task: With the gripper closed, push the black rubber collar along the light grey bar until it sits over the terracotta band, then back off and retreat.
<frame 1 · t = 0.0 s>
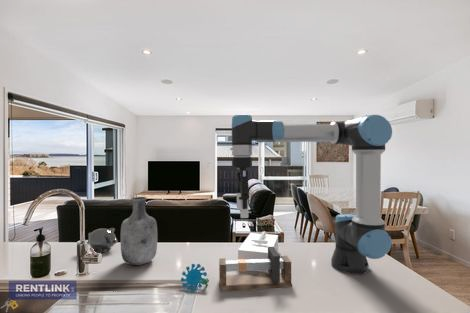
hand: (242, 213, 100), 28 cm above the counter, fingers open, 13 cm apart
wooden stand: (254, 282, 104), on the counter
gear: (195, 287, 101), on the counter
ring: (273, 263, 105), point 7 cm above the counter, slide at -7.5 cm
vase: (139, 263, 124), on the counter
light grey bar: (254, 264, 104), point 7 cm above the counter
piggy bank: (102, 251, 138), on the counter
white pegged block: (259, 260, 126), on the counter
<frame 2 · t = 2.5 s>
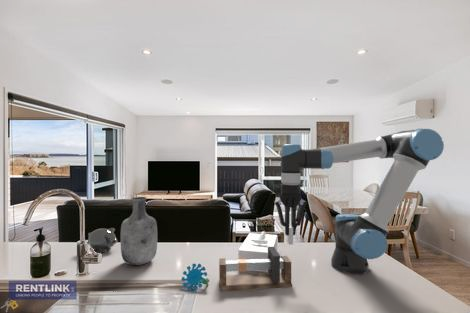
hand: (290, 243, 105), 15 cm above the counter, fingers closed
nothing on the counter moved.
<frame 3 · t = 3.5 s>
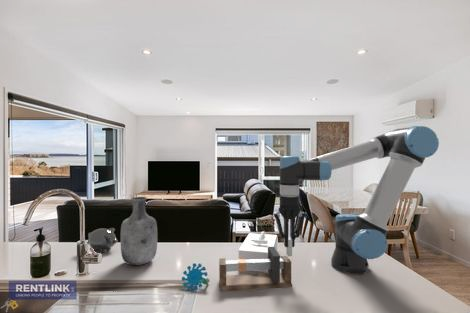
hand: (289, 254, 105), 10 cm above the counter, fingers closed
nothing on the counter moved.
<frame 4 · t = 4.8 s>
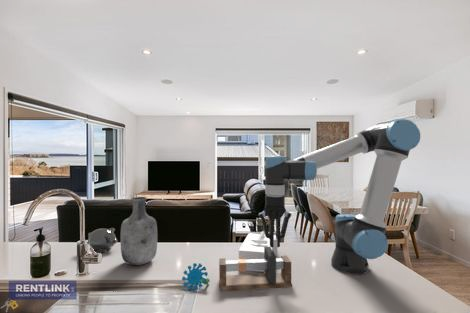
hand: (274, 255, 105), 10 cm above the counter, fingers closed
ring: (269, 264, 104), point 7 cm above the counter, slide at -6.0 cm, touching gripper
everything else where it was.
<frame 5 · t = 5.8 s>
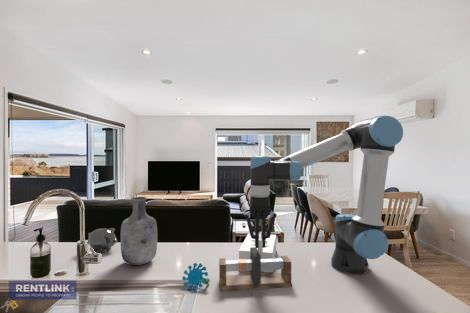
hand: (260, 255, 104), 10 cm above the counter, fingers closed
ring: (255, 264, 104), point 7 cm above the counter, slide at -0.2 cm, touching gripper
everything else where it was.
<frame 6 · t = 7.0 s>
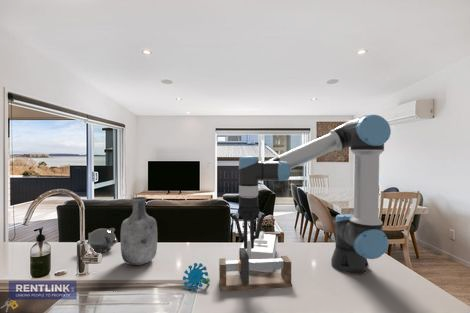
hand: (248, 256, 104), 10 cm above the counter, fingers closed
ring: (243, 265, 104), point 7 cm above the counter, slide at 4.2 cm, touching gripper
everything else where it was.
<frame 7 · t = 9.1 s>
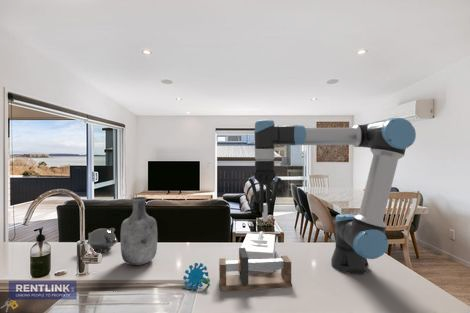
hand: (265, 220, 104), 24 cm above the counter, fingers closed
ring: (243, 265, 104), point 7 cm above the counter, slide at 4.4 cm
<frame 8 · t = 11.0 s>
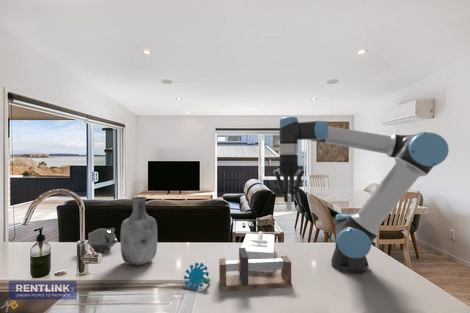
hand: (288, 209, 113), 26 cm above the counter, fingers closed
at the end: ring slide at 4.4 cm; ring 0.6 cm from the target spot, resting on wooden stand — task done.
